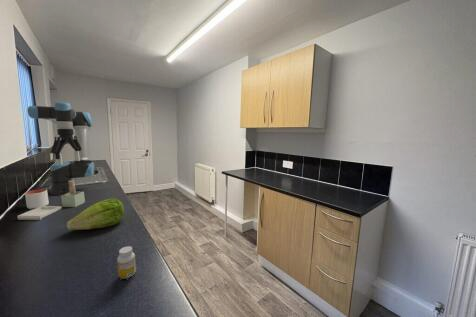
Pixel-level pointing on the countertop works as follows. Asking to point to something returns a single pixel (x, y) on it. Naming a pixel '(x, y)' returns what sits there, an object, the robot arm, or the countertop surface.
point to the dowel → (72, 187)
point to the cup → (36, 198)
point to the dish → (39, 213)
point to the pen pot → (72, 199)
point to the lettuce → (98, 215)
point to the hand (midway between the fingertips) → (68, 162)
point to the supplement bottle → (126, 262)
